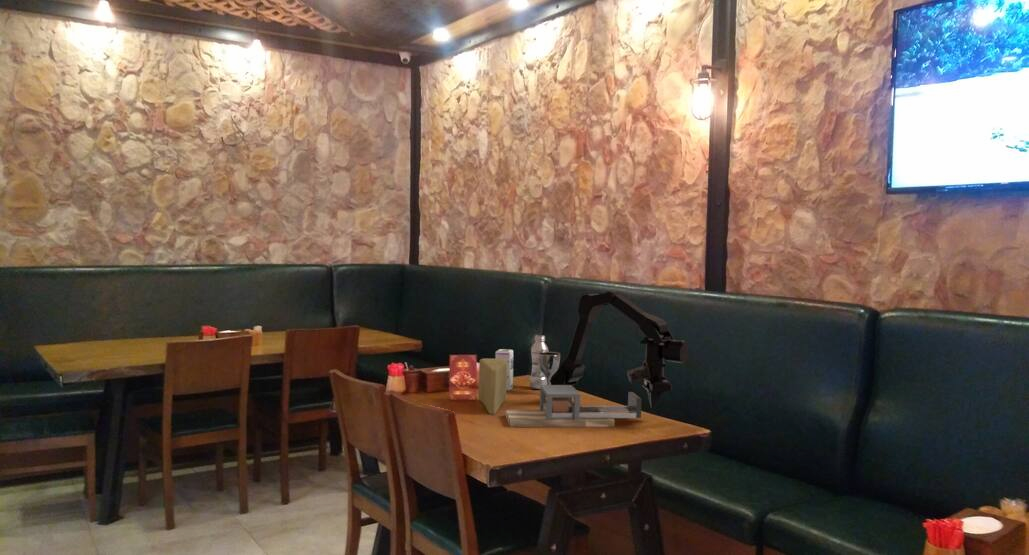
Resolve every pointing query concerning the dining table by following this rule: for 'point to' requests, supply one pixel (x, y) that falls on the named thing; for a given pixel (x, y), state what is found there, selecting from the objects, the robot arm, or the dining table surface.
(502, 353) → the syrup box
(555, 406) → the block
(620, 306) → the robot arm
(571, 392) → the tunnel
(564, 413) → the frame
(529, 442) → the dining table surface
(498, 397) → the cheese
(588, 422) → the cream flat frame
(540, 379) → the plastic bottle
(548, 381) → the wine glass
